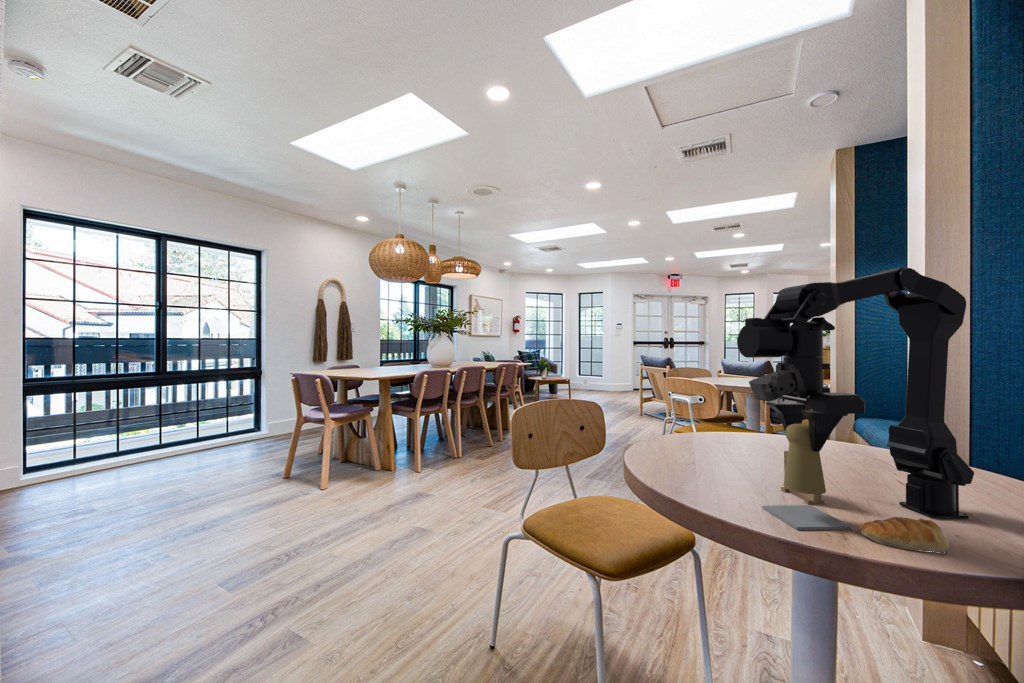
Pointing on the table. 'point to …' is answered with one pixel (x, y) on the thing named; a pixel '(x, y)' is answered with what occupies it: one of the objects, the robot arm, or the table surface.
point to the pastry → (907, 534)
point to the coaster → (806, 517)
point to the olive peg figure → (803, 462)
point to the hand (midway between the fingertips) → (804, 447)
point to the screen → (807, 498)
